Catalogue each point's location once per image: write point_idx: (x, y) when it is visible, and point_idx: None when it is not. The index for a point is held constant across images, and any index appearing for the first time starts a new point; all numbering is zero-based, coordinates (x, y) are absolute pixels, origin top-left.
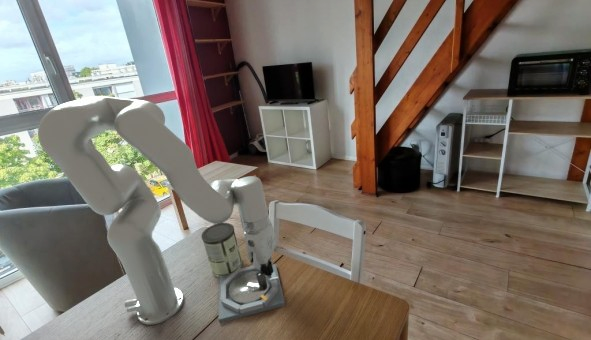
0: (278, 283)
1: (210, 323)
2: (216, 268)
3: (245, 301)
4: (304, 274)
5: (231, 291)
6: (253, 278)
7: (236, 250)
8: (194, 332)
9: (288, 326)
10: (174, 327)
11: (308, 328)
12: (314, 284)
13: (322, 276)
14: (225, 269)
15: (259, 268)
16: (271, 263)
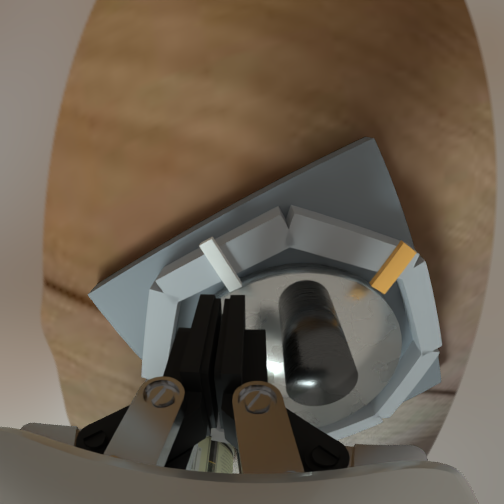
0: (228, 224)
1: (430, 390)
2: None
3: (399, 345)
4: (105, 99)
5: (336, 414)
6: None
7: None
8: (447, 404)
9: (465, 102)
10: (421, 441)
11: (452, 18)
12: (174, 15)
13: (110, 3)
14: (221, 463)
15: (396, 445)
16: (188, 352)
